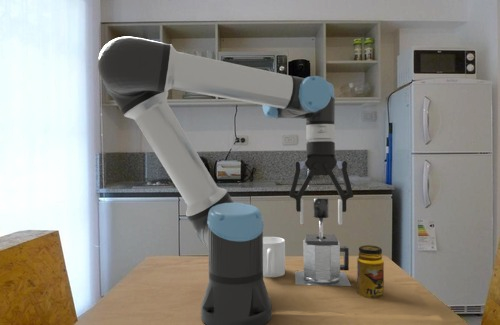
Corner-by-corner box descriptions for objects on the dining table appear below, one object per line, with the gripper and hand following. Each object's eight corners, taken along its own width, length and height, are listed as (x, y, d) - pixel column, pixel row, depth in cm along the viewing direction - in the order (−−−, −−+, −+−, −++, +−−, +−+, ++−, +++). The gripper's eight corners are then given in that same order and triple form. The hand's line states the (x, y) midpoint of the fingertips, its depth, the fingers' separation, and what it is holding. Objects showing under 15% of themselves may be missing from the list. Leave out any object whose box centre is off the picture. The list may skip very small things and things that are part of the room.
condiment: (382, 305, 84) (381, 252, 83) (345, 298, 88) (344, 248, 88) (388, 294, 90) (388, 245, 90) (353, 288, 94) (353, 241, 94)
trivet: (295, 287, 95) (295, 284, 95) (295, 273, 106) (295, 271, 106) (351, 289, 94) (351, 285, 94) (344, 274, 105) (344, 272, 105)
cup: (285, 270, 109) (284, 236, 109) (284, 285, 97) (284, 247, 97) (257, 270, 110) (256, 236, 109) (253, 284, 98) (253, 246, 98)
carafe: (304, 283, 96) (303, 241, 95) (302, 271, 105) (302, 233, 105) (351, 284, 94) (350, 242, 94) (345, 272, 104) (345, 234, 104)
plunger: (308, 271, 97) (308, 199, 96) (307, 263, 104) (306, 196, 103) (336, 272, 96) (336, 200, 95) (333, 264, 103) (332, 196, 103)
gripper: (278, 141, 96) (279, 226, 97) (365, 139, 94) (366, 226, 95) (279, 142, 104) (280, 220, 104) (360, 140, 102) (360, 221, 102)
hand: (321, 223), depth 99 cm, fingers open, 9 cm apart
